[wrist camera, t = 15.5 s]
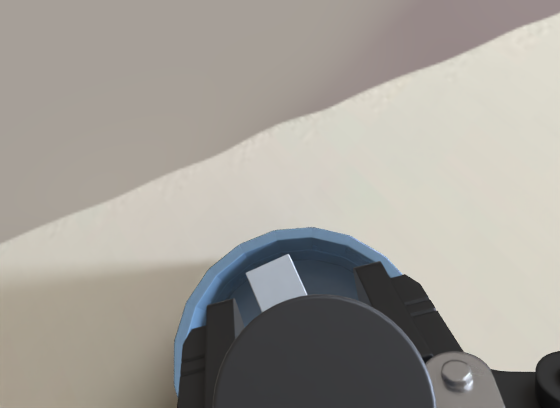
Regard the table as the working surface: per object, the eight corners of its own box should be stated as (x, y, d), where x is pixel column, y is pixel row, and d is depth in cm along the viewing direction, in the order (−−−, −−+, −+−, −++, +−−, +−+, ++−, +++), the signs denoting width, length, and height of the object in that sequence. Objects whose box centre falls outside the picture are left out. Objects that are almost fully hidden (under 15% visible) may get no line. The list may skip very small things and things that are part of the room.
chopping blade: (209, 516, 17) (1, 810, 6) (205, 277, 20) (56, 159, 9) (453, 504, 17) (737, 792, 5) (416, 261, 19) (555, 115, 8)
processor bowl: (203, 480, 29) (172, 510, 23) (200, 261, 33) (174, 237, 27) (428, 468, 29) (458, 496, 23) (397, 246, 33) (415, 218, 27)
